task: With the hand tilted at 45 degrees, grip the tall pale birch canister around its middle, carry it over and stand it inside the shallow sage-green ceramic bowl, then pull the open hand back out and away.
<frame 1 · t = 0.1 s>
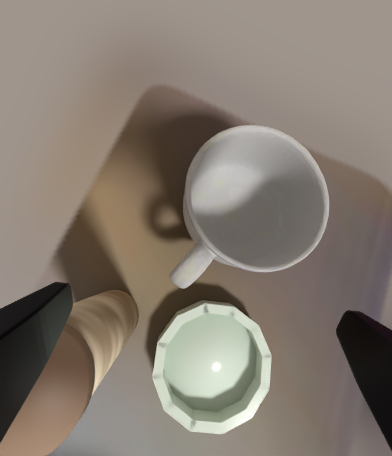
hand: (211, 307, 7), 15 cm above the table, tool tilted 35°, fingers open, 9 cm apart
bowl: (210, 356, 21), on the table
canister: (112, 316, 21), on the table
teacup: (220, 226, 23), on the table
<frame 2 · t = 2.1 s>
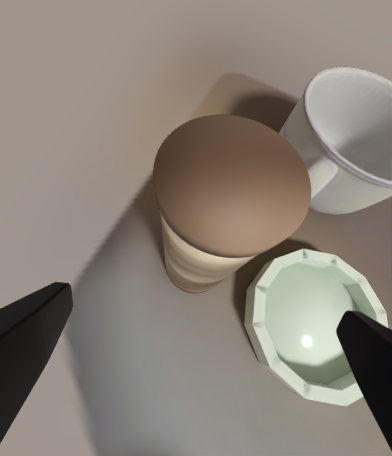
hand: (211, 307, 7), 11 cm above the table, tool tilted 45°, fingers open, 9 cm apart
bowl: (306, 318, 18), on the table
canister: (194, 263, 18), on the table
teacup: (300, 187, 23), on the table
when the fingers open (8 cm above the table, at t = 7.4 s): canister drops 1 cm, resting on bowl.
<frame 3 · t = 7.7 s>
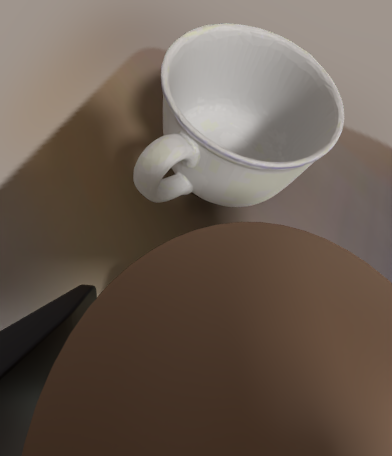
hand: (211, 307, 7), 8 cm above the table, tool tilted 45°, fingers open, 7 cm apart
canister: (188, 336, 14), point 1 cm above the table, touching bowl
teacup: (210, 177, 19), on the table
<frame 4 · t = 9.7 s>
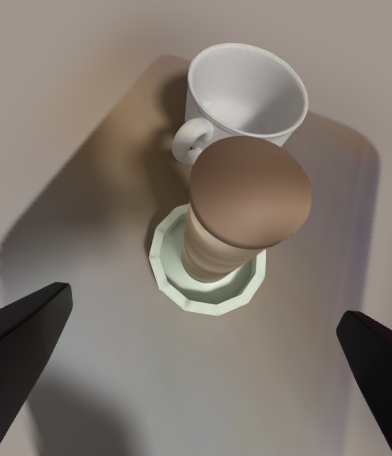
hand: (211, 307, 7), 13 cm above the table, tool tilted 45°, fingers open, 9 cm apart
bowl: (206, 257, 21), on the table
canister: (206, 256, 21), point 1 cm above the table, touching bowl
teacup: (217, 154, 26), on the table
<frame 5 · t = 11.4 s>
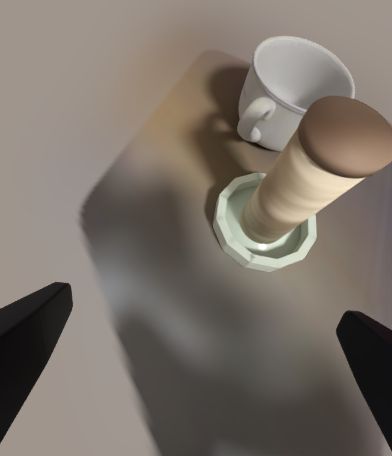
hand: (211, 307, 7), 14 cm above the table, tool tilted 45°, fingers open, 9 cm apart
bowl: (259, 223, 24), on the table
canister: (261, 222, 23), point 1 cm above the table, touching bowl
teacup: (262, 137, 29), on the table
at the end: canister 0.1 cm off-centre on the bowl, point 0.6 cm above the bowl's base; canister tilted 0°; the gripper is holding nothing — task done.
